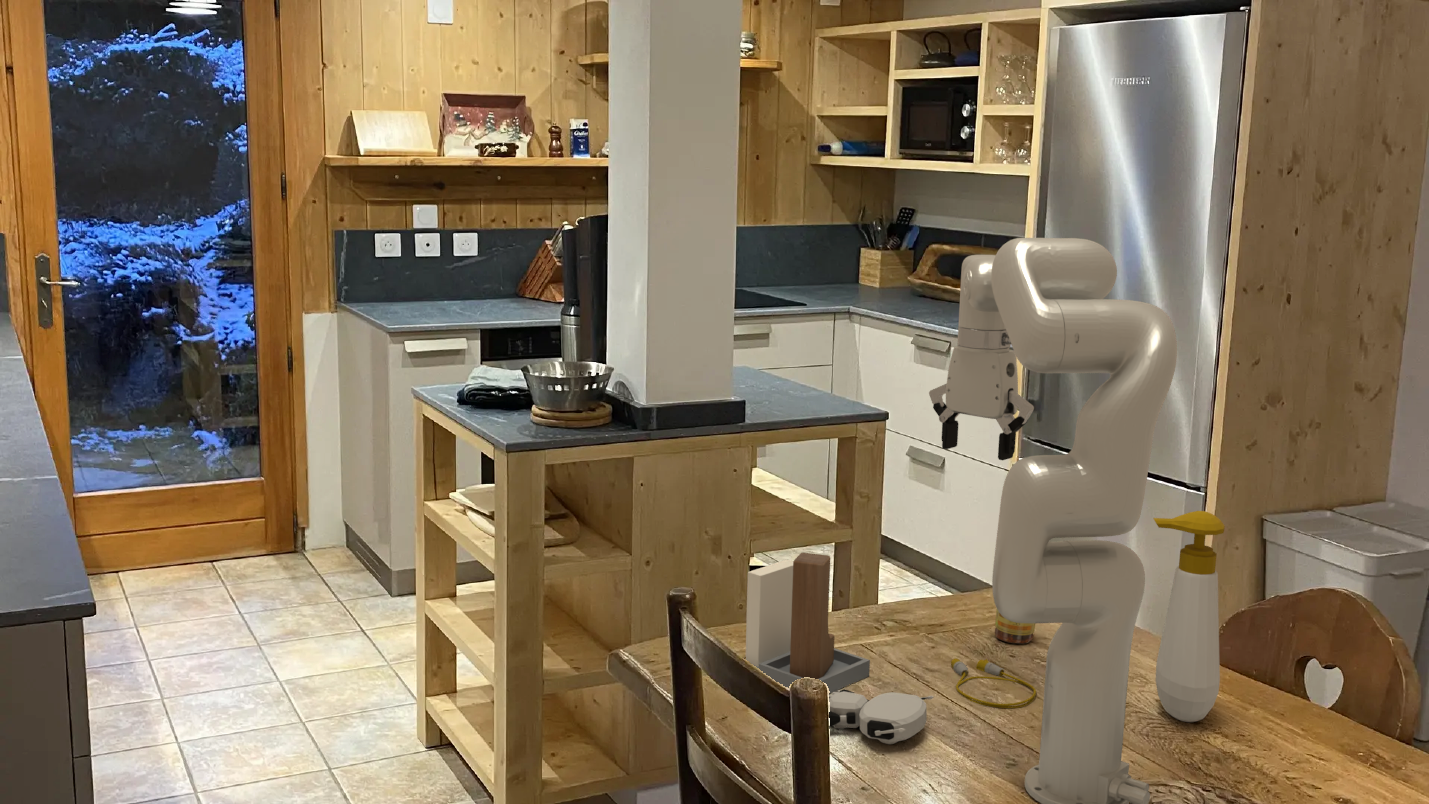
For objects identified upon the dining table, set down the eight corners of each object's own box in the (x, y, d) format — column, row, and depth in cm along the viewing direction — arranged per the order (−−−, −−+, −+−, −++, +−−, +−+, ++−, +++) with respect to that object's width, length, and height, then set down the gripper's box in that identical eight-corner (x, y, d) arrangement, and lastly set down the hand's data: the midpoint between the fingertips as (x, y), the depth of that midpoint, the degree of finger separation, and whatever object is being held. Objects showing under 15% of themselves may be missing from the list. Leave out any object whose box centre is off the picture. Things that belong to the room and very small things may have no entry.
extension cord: (1032, 673, 202) (1033, 660, 202) (1038, 715, 187) (1039, 702, 187) (950, 666, 204) (951, 654, 204) (950, 707, 189) (951, 694, 189)
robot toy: (801, 742, 178) (909, 758, 171) (799, 709, 178) (908, 725, 171) (835, 709, 189) (938, 723, 182) (834, 678, 188) (937, 691, 181)
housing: (869, 676, 198) (873, 578, 196) (813, 700, 189) (817, 599, 186) (786, 647, 209) (789, 555, 206) (730, 669, 200) (732, 573, 197)
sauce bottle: (992, 643, 213) (999, 522, 209) (996, 630, 219) (1003, 512, 215) (1034, 648, 211) (1043, 526, 207) (1037, 634, 217) (1045, 516, 213)
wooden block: (805, 658, 202) (809, 543, 199) (834, 662, 201) (838, 546, 197) (788, 679, 194) (792, 560, 191) (818, 684, 192) (823, 563, 189)
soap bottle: (1132, 691, 195) (1148, 496, 190) (1207, 697, 193) (1225, 501, 188) (1143, 727, 182) (1160, 520, 177) (1223, 735, 181) (1243, 526, 175)
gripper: (1049, 343, 194) (1041, 459, 197) (948, 331, 206) (942, 440, 209) (1022, 348, 189) (1014, 467, 192) (920, 335, 200) (914, 447, 203)
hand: (977, 453), depth 200 cm, fingers open, 9 cm apart
